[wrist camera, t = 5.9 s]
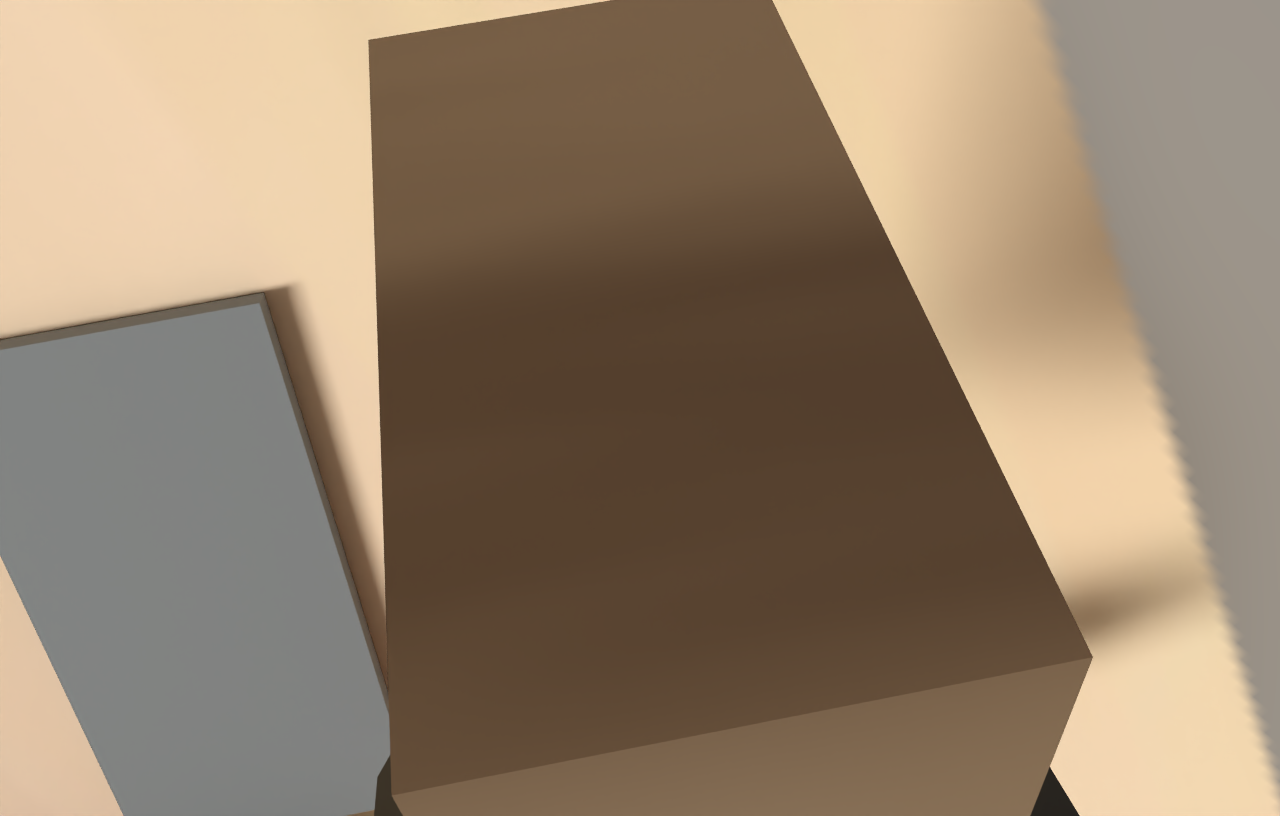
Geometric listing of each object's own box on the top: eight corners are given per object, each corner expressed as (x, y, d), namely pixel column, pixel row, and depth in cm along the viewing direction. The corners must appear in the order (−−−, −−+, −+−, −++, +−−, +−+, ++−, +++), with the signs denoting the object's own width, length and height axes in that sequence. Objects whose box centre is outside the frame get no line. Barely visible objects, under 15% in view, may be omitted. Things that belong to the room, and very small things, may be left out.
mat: (-78, 354, 24) (-90, 366, 24) (263, 292, 25) (259, 302, 24) (149, 839, 31) (143, 857, 30) (417, 784, 31) (415, 801, 31)
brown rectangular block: (368, 40, 9) (390, 796, 5) (760, -24, 9) (1092, 659, 5) (568, 757, 18) (634, 1235, 14) (764, 719, 18) (886, 1179, 14)
